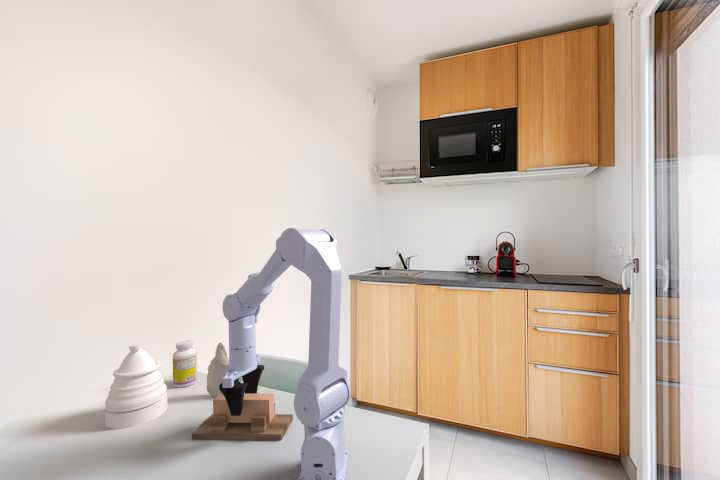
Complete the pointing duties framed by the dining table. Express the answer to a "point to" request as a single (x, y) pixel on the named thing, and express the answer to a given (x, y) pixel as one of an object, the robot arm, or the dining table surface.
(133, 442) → the dining table surface
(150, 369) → the honey pot
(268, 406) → the clay bar
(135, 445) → the dining table surface
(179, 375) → the supplement bottle
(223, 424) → the wooden block stand
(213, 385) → the stone tool
